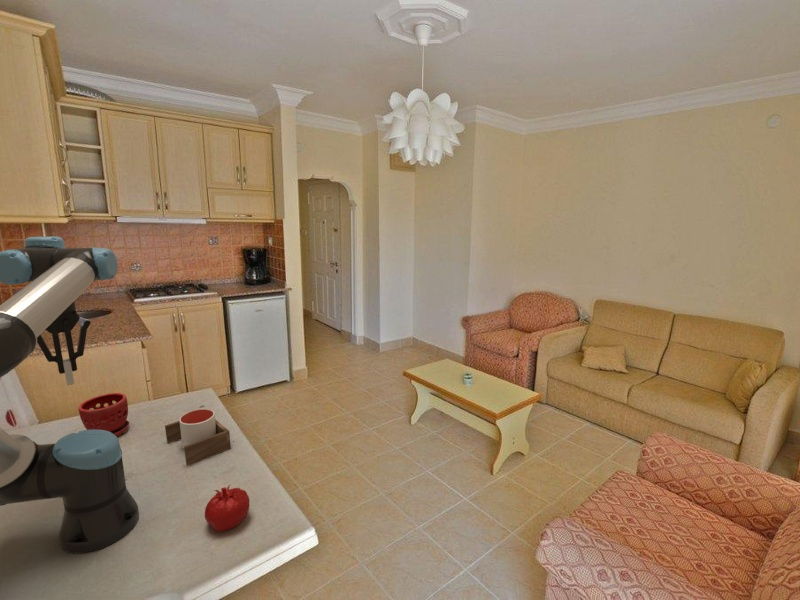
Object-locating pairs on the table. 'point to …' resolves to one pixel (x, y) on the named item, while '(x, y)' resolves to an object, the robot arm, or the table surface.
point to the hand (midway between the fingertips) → (70, 383)
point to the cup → (197, 426)
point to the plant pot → (105, 413)
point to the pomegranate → (227, 508)
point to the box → (200, 442)
